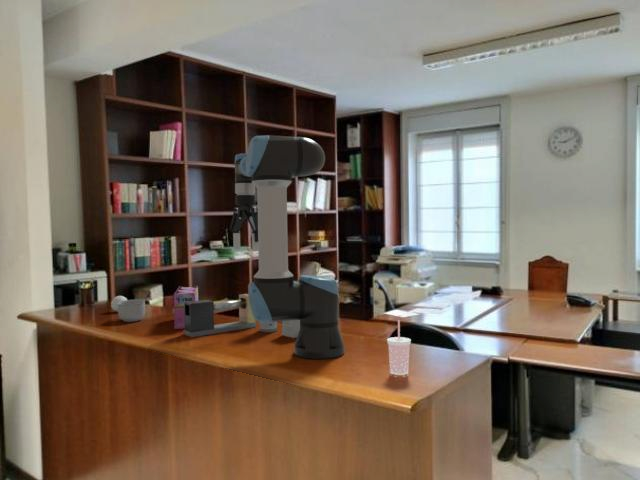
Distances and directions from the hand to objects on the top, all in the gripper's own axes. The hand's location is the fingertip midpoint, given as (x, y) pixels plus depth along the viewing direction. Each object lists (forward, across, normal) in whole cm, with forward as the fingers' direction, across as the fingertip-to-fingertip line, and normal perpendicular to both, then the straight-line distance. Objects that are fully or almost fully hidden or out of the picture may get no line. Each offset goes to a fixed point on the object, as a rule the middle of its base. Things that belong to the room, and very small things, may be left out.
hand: (246, 250), depth 197 cm
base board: (+29, -1, +12) cm, 32 cm away
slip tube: (+21, -1, +9) cm, 24 cm away
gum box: (+29, +21, +15) cm, 39 cm away
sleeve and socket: (+27, -1, +12) cm, 30 cm away
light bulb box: (+29, -27, -5) cm, 40 cm away
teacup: (+29, +43, +30) cm, 60 cm away
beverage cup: (+29, -82, +5) cm, 87 cm away
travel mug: (+29, -14, 0) cm, 33 cm away
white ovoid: (+29, +65, +27) cm, 76 cm away
